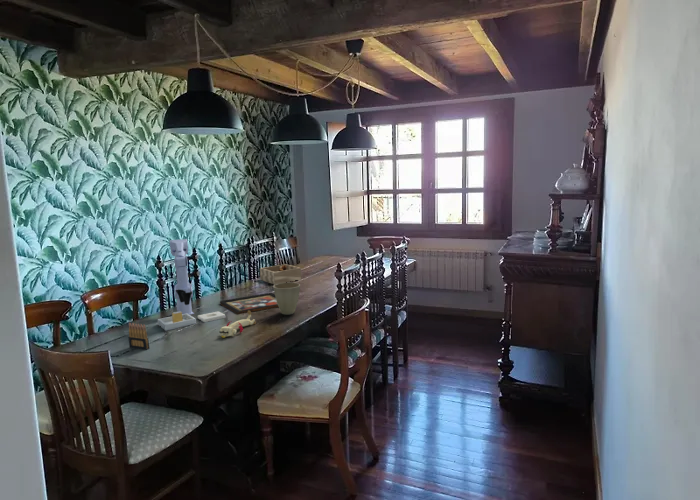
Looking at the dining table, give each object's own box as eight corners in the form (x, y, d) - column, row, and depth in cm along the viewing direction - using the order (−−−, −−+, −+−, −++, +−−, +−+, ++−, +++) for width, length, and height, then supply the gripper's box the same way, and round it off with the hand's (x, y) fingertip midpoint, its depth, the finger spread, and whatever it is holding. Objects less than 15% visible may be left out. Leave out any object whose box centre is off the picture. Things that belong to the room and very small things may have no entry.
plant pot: (276, 317, 262) (275, 289, 259) (273, 310, 276) (271, 283, 273) (303, 314, 266) (302, 286, 263) (298, 308, 280) (297, 281, 278)
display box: (260, 279, 362) (259, 268, 361) (286, 275, 375) (285, 264, 374) (274, 284, 344) (274, 272, 343) (301, 279, 357) (300, 268, 355)
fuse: (172, 323, 257) (171, 312, 256) (181, 321, 259) (180, 311, 259) (174, 324, 254) (173, 313, 254) (182, 322, 257) (181, 312, 256)
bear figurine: (271, 279, 362) (270, 264, 360) (291, 278, 364) (290, 262, 362) (270, 283, 349) (269, 267, 347) (291, 282, 351) (290, 266, 349)
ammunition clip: (129, 347, 224) (126, 322, 222) (132, 346, 225) (129, 321, 223) (146, 349, 219) (143, 324, 218) (149, 348, 221) (147, 323, 219)
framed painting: (241, 317, 267) (240, 312, 267) (214, 306, 294) (214, 301, 294) (298, 304, 291) (297, 299, 291) (268, 295, 318) (268, 291, 318)
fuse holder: (197, 318, 265) (197, 315, 265) (218, 314, 273) (218, 311, 272) (204, 322, 258) (204, 319, 257) (225, 318, 265) (225, 314, 264)
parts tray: (158, 324, 258) (157, 319, 257) (187, 318, 267) (187, 313, 267) (165, 330, 247) (165, 325, 246) (196, 324, 256) (195, 318, 256)
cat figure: (243, 325, 255) (213, 336, 232) (243, 309, 255) (213, 319, 231) (259, 327, 251) (230, 338, 228) (259, 310, 251) (230, 320, 228)
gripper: (194, 279, 256) (196, 304, 258) (185, 275, 267) (187, 299, 269) (181, 281, 252) (183, 306, 254) (172, 277, 263) (175, 301, 265)
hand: (184, 303), depth 261 cm, fingers open, 7 cm apart
